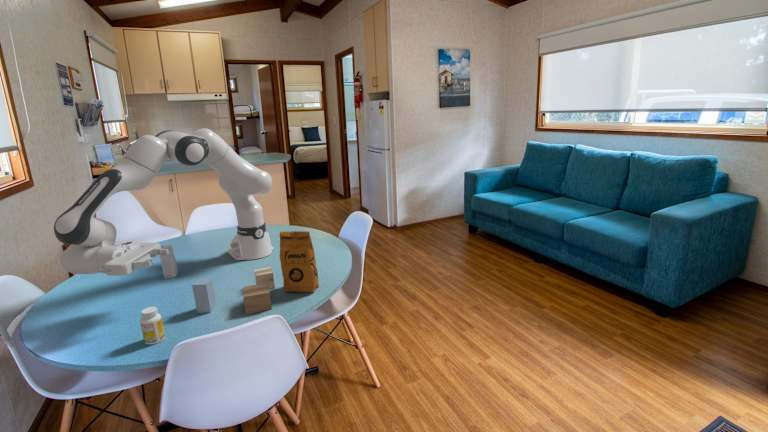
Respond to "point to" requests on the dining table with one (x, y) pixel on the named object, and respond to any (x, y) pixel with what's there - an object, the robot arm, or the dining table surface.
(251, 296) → the walnut block
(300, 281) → the coffee package
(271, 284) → the birch block
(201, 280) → the slate block
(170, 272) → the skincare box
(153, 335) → the supplement bottle
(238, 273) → the dining table surface
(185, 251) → the dining table surface
